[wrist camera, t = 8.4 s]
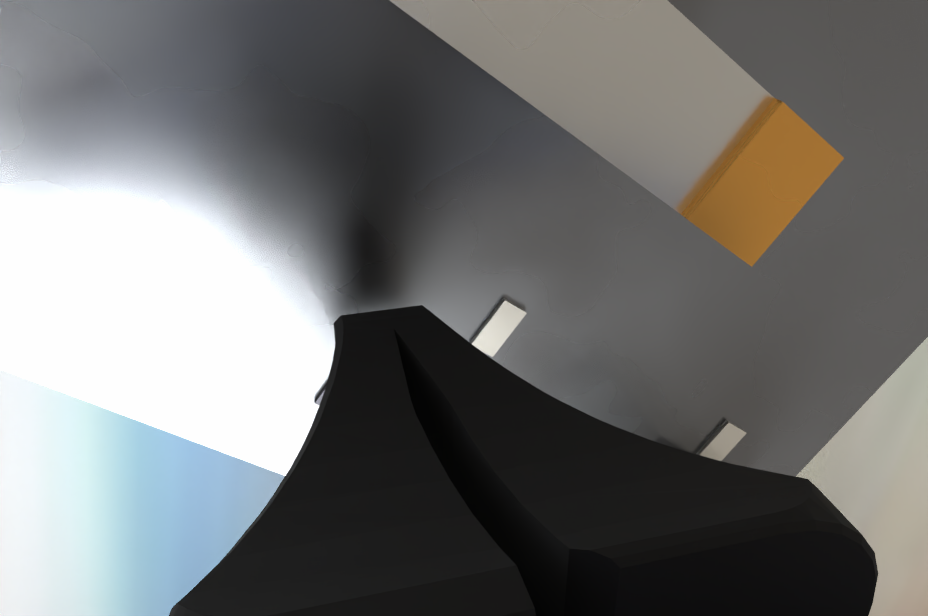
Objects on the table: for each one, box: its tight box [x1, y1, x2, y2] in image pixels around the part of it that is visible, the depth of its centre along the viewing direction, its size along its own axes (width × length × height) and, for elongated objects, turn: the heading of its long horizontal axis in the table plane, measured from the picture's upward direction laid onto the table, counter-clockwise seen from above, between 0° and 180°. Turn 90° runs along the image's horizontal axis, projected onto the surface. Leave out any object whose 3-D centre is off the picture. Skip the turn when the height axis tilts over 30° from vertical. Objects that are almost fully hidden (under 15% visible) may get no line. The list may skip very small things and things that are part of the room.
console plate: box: [0, 0, 928, 477], centre depth 13 cm, size 20×13×1 cm, turn 53°
